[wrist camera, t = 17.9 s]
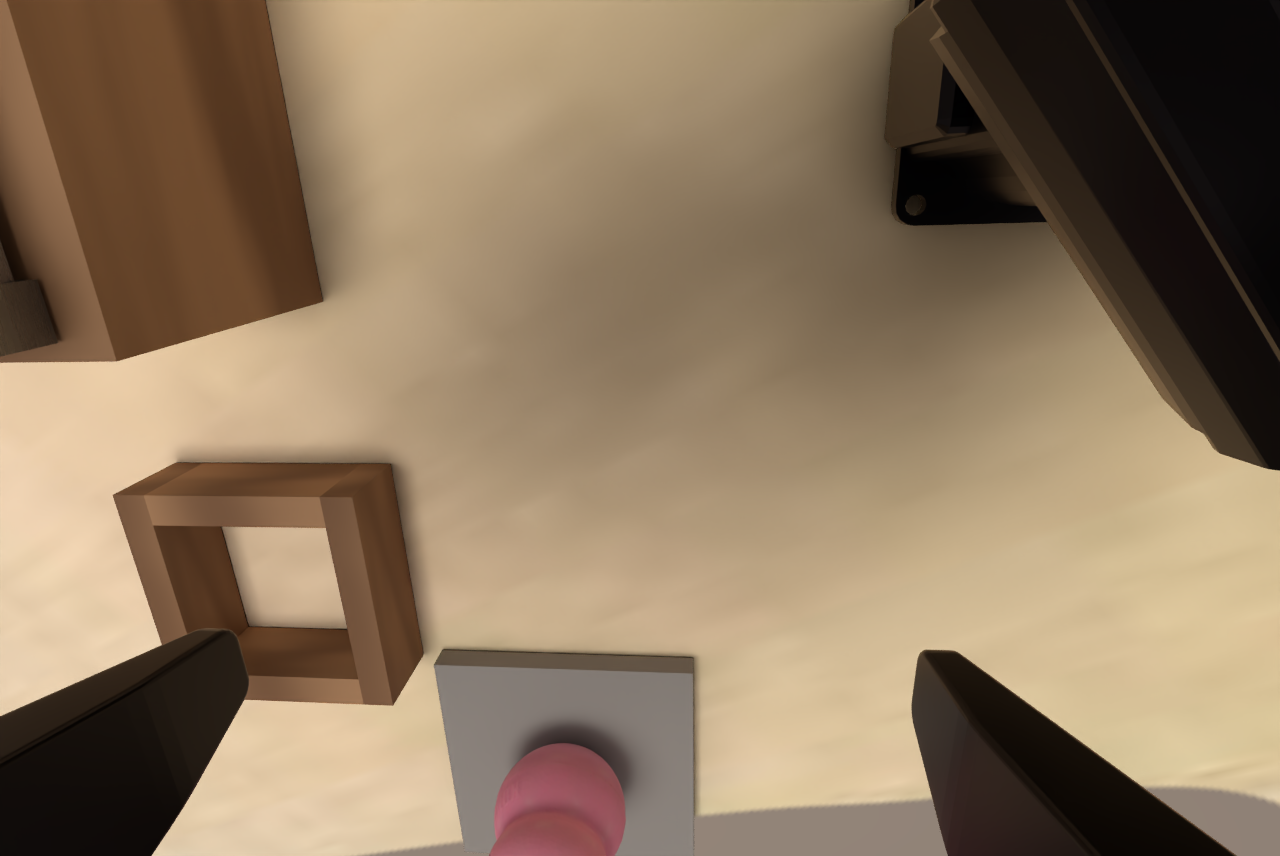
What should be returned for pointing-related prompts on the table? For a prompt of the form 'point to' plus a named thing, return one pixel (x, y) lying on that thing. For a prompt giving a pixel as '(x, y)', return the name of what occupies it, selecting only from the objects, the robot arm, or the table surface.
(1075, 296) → the table surface
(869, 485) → the table surface
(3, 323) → the latch bolt
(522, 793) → the dog chew toy
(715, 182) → the table surface
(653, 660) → the slate mat
